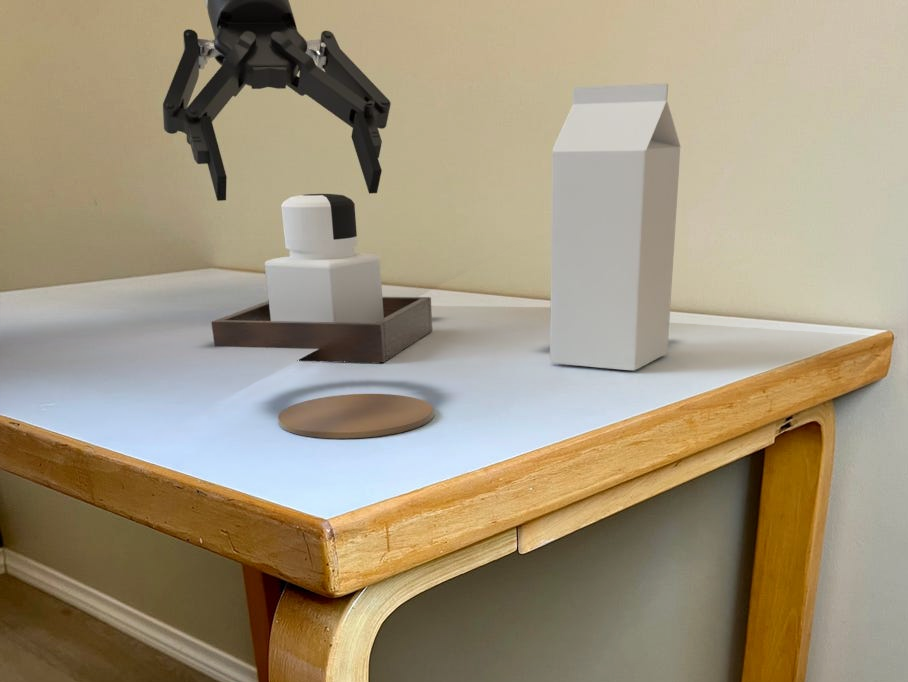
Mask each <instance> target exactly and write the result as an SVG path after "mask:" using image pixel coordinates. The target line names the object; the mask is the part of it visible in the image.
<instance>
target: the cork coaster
mask: <svg viewBox="0 0 908 682" xmlns="http://www.w3.org/2000/svg"><path fill="white" fill-rule="evenodd" d="M434 410H435V409H434V407H433V405H432V404H431V403H429V402H428V401H425V400H423V399H420V398H418V397H412V396H406V395H401V394H391V393H352V394H339V395H331V396H323V397H317V398H313V399H308V400H304V401H301V402H298V403H295V404H292V405H290V406H287V407H286V408H284V409H282V410H281V411H280V412H279V413H278V415H277V420H278V425H279V426H280V428H282V429H283V430H284V431H286V432H289V433H292V434H295V435H300V436H304V437H310V438H320V439H339V440H342V439H345V440H346V439H365V438H377V437H382V436H384V437H385V436H389V435H395V434H399V433H404V432H409V431H411V430H414V429H418V428H420V427H423V426H424V425H426V424H428V423H430V422H431V421H432V420H433V418H434V416H435V411H434Z"/></svg>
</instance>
